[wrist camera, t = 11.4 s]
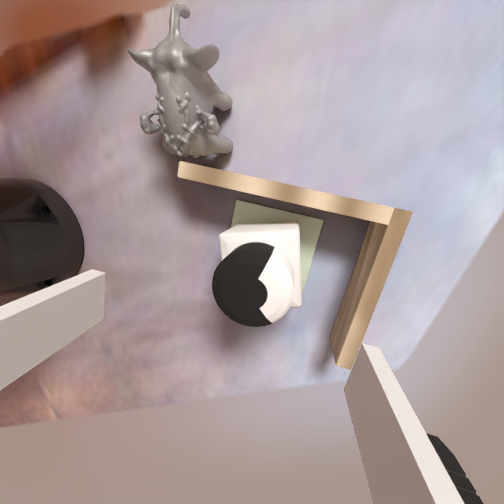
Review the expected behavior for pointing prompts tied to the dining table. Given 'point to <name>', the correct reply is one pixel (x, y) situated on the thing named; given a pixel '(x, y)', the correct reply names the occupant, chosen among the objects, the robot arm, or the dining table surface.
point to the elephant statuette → (184, 93)
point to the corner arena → (369, 260)
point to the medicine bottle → (259, 272)
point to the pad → (262, 214)
